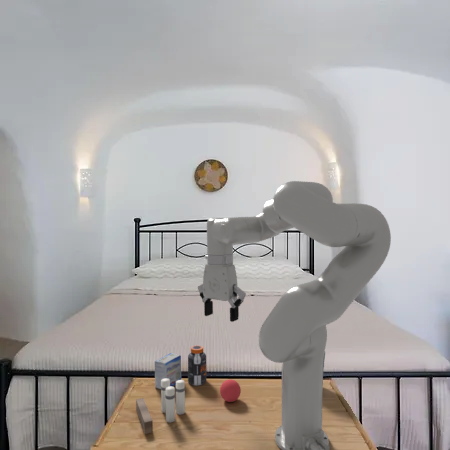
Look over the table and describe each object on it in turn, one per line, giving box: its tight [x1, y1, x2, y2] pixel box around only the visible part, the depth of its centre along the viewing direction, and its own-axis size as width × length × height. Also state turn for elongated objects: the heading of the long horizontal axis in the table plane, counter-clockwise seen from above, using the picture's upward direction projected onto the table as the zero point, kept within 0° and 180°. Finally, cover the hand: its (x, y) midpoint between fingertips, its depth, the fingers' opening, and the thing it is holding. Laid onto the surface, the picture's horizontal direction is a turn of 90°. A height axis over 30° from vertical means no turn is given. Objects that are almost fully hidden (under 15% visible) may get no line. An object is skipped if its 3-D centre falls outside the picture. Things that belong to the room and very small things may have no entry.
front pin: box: [175, 379, 186, 415], centre depth 102 cm, size 2×2×8 cm
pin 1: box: [160, 378, 170, 414], centre depth 103 cm, size 2×2×8 cm
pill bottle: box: [187, 345, 207, 386], centre depth 120 cm, size 6×6×11 cm
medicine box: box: [154, 352, 182, 390], centre depth 118 cm, size 8×4×9 cm, turn 148°
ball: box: [219, 378, 242, 403], centre depth 108 cm, size 6×6×6 cm
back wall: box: [135, 397, 154, 435], centre depth 99 cm, size 12×2×3 cm, turn 23°
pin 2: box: [165, 386, 176, 423], centre depth 99 cm, size 2×2×8 cm
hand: (221, 317), depth 110 cm, fingers open, 9 cm apart
